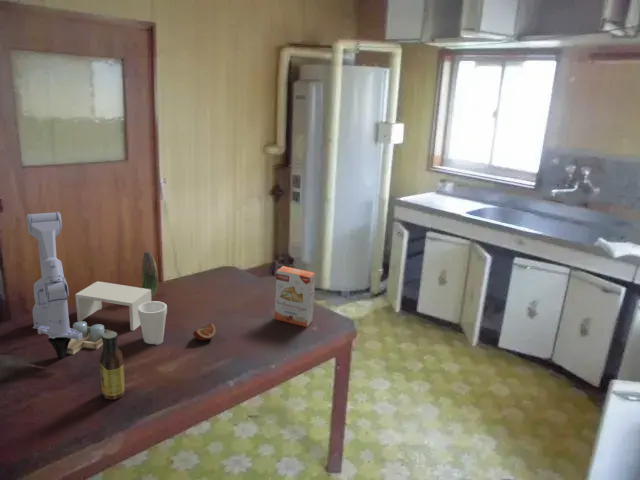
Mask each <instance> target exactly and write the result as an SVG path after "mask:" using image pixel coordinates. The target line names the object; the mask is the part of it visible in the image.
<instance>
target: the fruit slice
mask: <svg viewBox="0 0 640 480" xmlns="http://www.w3.org/2000/svg"><path fill="white" fill-rule="evenodd" d="M216 329H217V328H216V326H215V324H214V322H212V323H209V324H208V325H206V326H203V327H201V328H198V329H196V330H195V331H193V333H192V335H193V337H194V338H195V339H197V340H199V341H208V340H211V339H213V337H214V336H215V335H216V332H217V330H216Z"/></svg>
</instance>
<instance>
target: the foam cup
mask: <svg viewBox="0 0 640 480" xmlns="http://www.w3.org/2000/svg"><path fill="white" fill-rule="evenodd" d="M167 313H168V305H167V304H166V303H165V302H162V301H160V300H159V301H156V300H155V301H154V300H151V301H150V302H145V303H142V304H141V305H139V306H138V315H139V318H140V323H141V325H140V328H141V333H142V337H143V342H144V343H146V344H149V345H155V346H158V345H160V344H162V343H163V342H164V338H165V337H164V335H165V328H166V327H165V326H166V318H167Z"/></svg>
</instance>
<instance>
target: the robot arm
mask: <svg viewBox="0 0 640 480" xmlns="http://www.w3.org/2000/svg"><path fill="white" fill-rule="evenodd" d="M25 218H26V225H27V231H28V234H29V235H31V237H33V238H36V239H37V243H38V245H37V246H38V253H39V254H38V255H39V263H40V273H41V277H40V278H39V279H38V280H37V281H35V282H34V284H33V295H34V303H35V304H34V305H33V308H32V320H33V327H32V329H37V334H38V335H42V334H44V335H45V334H46V335H47V336H48V340H47V341H48V343H50V344H51V345H52V347H53V349H54V351H55V353H56V355H57V357H58V358H60V359H63V358H65V356H67V353H66V352H67V348H68V345H69V342H70V340H71V338H72V339H76V341H79V340H81V339H82V338H83V336H82V333H81V332H78V331H76V330H73V329H72V328H71V327H70V326H71V325H70V323H71V322H70V318H69V306H68V299H69V296H70V295H69V294H70V293H69V286H68V283H67V280H66V277H65V276H64V274H65V273H64V270H63V268H64V267H63V264H62V260H60V259H58V258H57V242H56V241H57V240H56V237H57V236H59V235H61V230H63V221H62V216H61V213H60V212H59V211H55V212H54V211H53V212H43V213H27V215H26V217H25Z"/></svg>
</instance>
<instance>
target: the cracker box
mask: <svg viewBox="0 0 640 480" xmlns="http://www.w3.org/2000/svg"><path fill="white" fill-rule="evenodd" d="M316 275H317V273H316V272H312V271H309V270H303V269H298V268H294V267H291V266H290V267H289V266H285V265H282V266H281V267H280V268H278V269H277V270H276V276H275V279H276V280H275V299H274V318H273V319H274V320H276V321H280V322H284V323H287V324H288V323H289V324H291V325H292V324H293V325H295V326H300V327H303V328H308V327H309V326H310V325H311V324H312V323H313V320H314V319H313V317H314V304H315V289H316Z"/></svg>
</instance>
